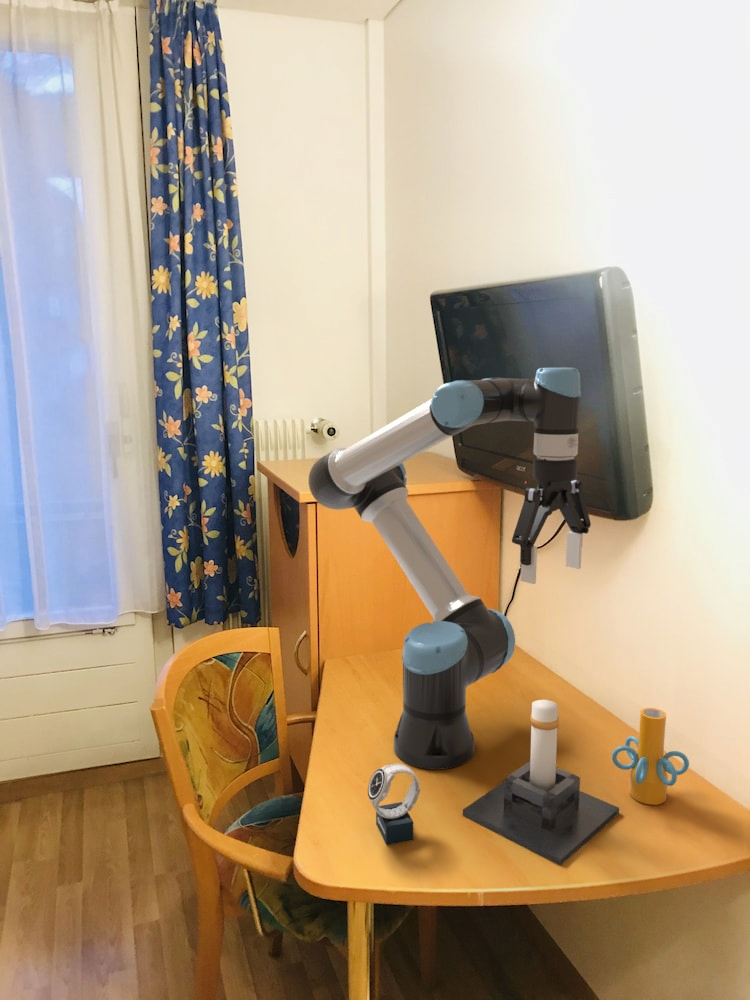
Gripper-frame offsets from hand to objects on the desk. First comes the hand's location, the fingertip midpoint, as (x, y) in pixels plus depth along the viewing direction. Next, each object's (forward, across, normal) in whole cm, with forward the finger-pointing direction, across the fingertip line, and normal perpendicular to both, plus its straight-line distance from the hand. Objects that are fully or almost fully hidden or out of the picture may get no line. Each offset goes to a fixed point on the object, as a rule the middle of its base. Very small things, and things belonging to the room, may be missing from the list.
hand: (551, 574), depth 139 cm
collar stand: (+34, -17, -12) cm, 40 cm away
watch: (+34, -38, +1) cm, 51 cm away
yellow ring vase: (+35, 0, -21) cm, 40 cm away
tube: (+33, -17, -12) cm, 39 cm away
